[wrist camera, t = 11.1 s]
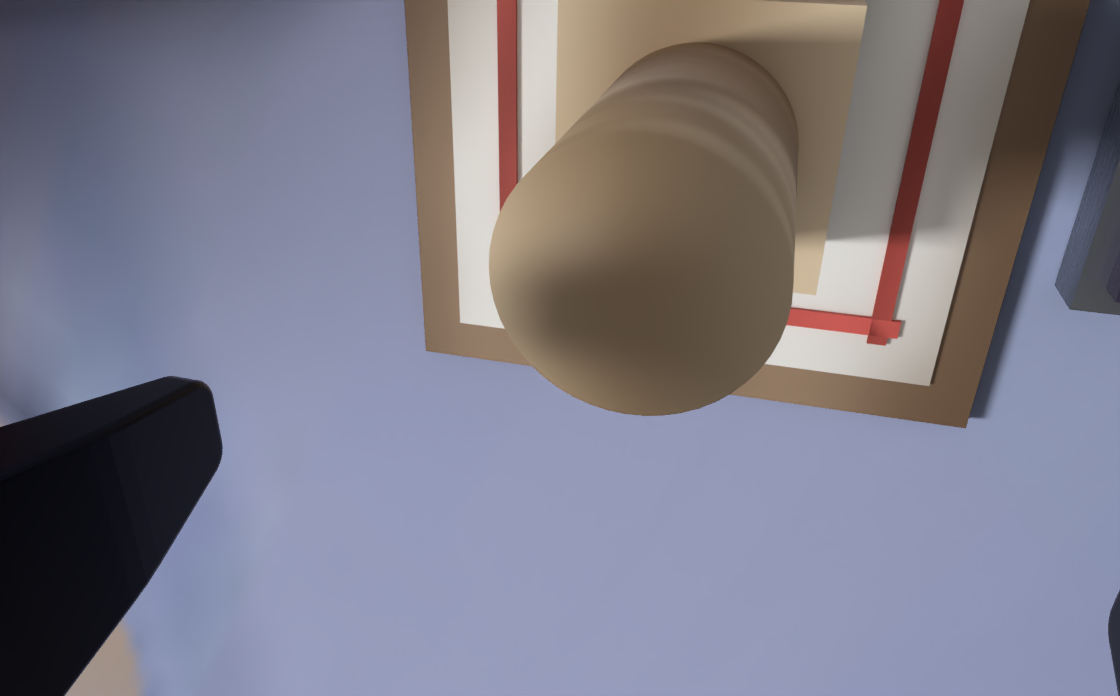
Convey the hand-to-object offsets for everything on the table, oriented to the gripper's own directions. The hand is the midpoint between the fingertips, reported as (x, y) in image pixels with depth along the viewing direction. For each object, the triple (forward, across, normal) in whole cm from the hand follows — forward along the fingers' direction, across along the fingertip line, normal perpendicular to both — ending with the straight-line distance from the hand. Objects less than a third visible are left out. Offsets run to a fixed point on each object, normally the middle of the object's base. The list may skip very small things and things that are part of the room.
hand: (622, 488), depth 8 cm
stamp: (+11, 0, -1) cm, 11 cm away
